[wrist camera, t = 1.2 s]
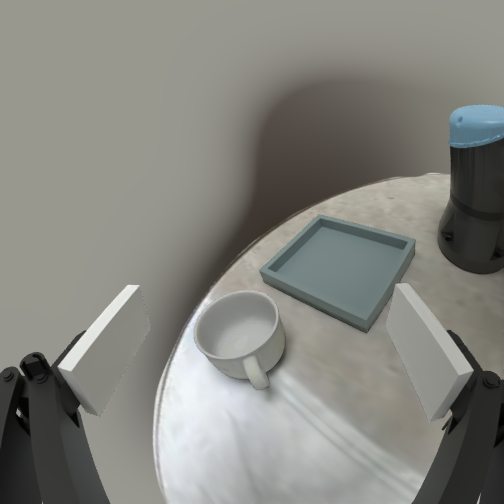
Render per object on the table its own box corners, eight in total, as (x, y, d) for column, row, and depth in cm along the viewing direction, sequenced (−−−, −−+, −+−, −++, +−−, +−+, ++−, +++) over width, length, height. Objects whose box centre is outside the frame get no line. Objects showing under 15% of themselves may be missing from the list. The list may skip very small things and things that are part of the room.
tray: (321, 226, 53) (318, 214, 52) (414, 253, 39) (415, 239, 37) (264, 282, 47) (259, 270, 45) (366, 333, 32) (366, 320, 30)
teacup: (218, 334, 41) (194, 301, 37) (284, 313, 40) (268, 276, 36) (223, 415, 30) (192, 393, 25) (306, 395, 29) (292, 368, 24)
